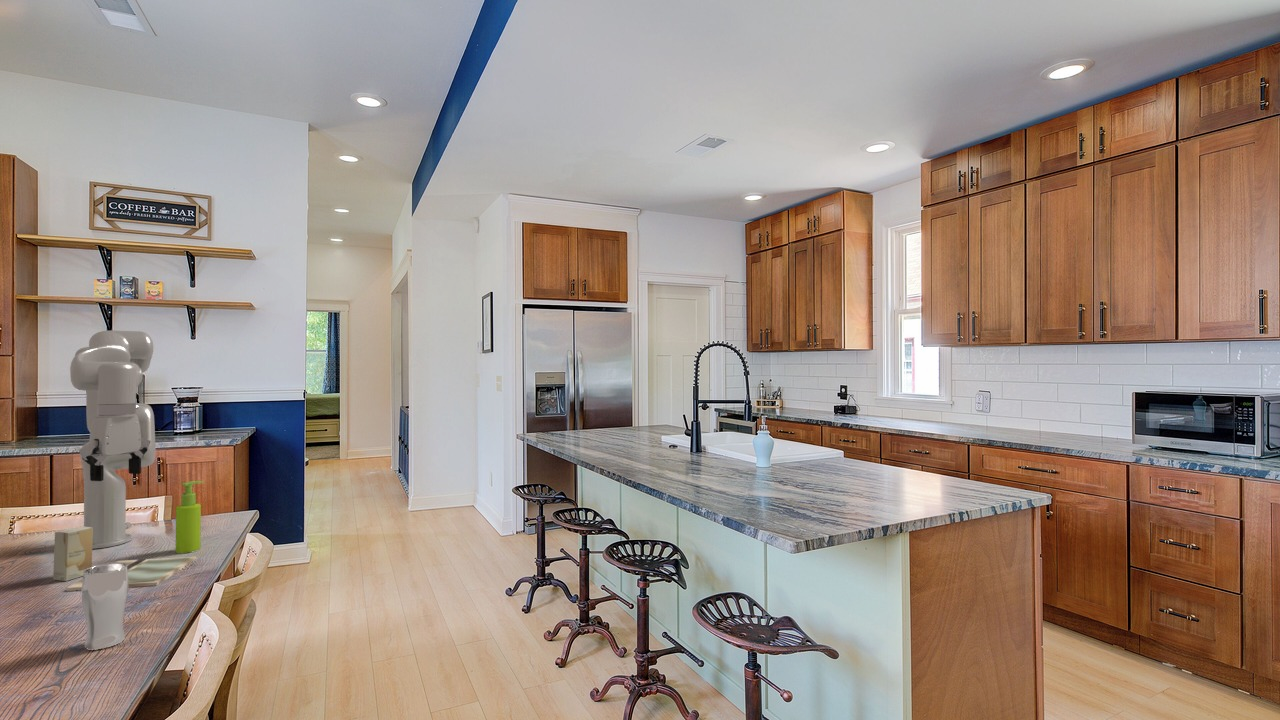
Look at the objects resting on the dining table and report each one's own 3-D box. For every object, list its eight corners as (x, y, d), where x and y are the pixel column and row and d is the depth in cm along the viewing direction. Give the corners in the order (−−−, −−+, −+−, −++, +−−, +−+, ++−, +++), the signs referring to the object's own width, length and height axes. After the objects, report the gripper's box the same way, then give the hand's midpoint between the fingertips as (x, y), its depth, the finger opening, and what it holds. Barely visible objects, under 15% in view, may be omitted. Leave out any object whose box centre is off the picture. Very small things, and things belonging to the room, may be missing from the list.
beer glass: (100, 636, 124) (100, 562, 124) (136, 635, 124) (137, 561, 124) (71, 652, 117) (71, 574, 117) (110, 651, 117) (110, 573, 117)
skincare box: (65, 581, 153) (66, 533, 153) (52, 580, 154) (52, 532, 154) (93, 573, 159) (94, 526, 159) (80, 571, 160) (80, 525, 160)
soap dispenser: (208, 547, 181) (209, 480, 181) (184, 554, 175) (185, 485, 175) (194, 545, 183) (195, 479, 183) (170, 552, 177) (171, 483, 177)
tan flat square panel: (117, 563, 166) (117, 560, 166) (196, 559, 171) (196, 555, 171) (66, 591, 147) (66, 587, 147) (156, 585, 151) (156, 581, 151)
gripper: (137, 407, 166) (136, 470, 166) (68, 413, 149) (67, 483, 149) (160, 408, 165) (160, 471, 165) (94, 414, 148) (93, 484, 148)
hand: (116, 477), depth 157 cm, fingers open, 9 cm apart
